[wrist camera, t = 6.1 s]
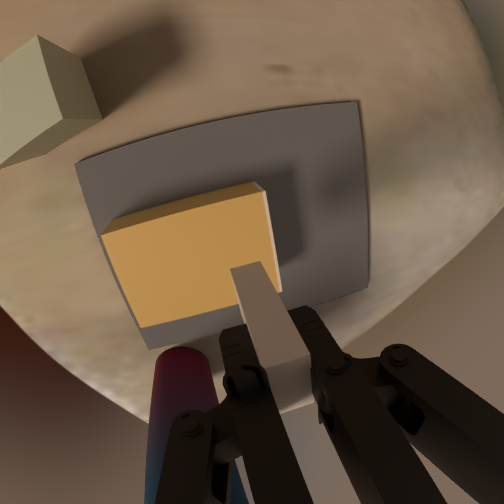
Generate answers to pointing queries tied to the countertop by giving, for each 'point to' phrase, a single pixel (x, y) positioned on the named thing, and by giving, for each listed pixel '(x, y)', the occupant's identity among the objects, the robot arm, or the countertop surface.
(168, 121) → the countertop surface
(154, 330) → the mat
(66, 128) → the sage block
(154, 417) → the cup
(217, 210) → the ochre slab
